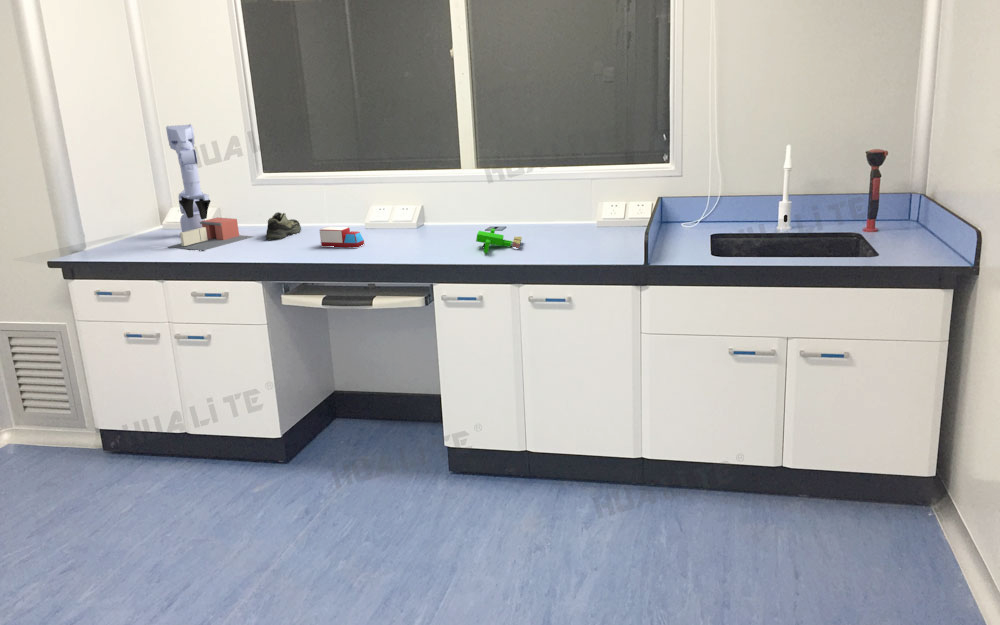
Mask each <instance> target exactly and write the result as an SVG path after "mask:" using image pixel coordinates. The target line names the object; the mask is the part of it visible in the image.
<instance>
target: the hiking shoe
mask: <svg viewBox="0 0 1000 625" xmlns="http://www.w3.org/2000/svg"><path fill="white" fill-rule="evenodd" d="M301 231H302V226H301V223H300V222H299V221H298V220H296V219H288V217H287V216H286V213H285V212H279V211H278V212H275V213H274V214H273V215H272V217H269V219H268V220H267V229H266V235H265V239H266V240H268V241H280V240H283V239H285V238H286V237H289V236H294V235H293V234H295V235H298V234H300V233H301ZM297 233H298V234H297ZM288 235H289V236H288Z"/></svg>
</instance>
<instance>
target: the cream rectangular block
mask: <svg viewBox="0 0 1000 625" xmlns="http://www.w3.org/2000/svg"><path fill="white" fill-rule="evenodd" d="M179 236H180V242H181V243H182V246H187V245H191V244H195V243H198V242H202V241H206V240H208V239H207V232H206V227H202V228H198V229H194V230H189V231H185V232H182V231H181V232H179Z"/></svg>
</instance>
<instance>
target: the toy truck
mask: <svg viewBox="0 0 1000 625" xmlns="http://www.w3.org/2000/svg"><path fill="white" fill-rule="evenodd" d="M319 237H320V247H321V246H334V247H359V246H361V245H363V244H364V245H365V241H364V238H363V235H362V233H361V231H351V230H350V227H349V226H348V227H347V226H346V227H343V226H340V227H339V226H326V227H324V228H321V229H319ZM361 247H362V246H361ZM359 248H360V247H359Z"/></svg>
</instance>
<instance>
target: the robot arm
mask: <svg viewBox="0 0 1000 625" xmlns="http://www.w3.org/2000/svg"><path fill="white" fill-rule="evenodd" d="M165 129H166V135H167V141H168V146H169V147H170V149H172V150H173V151H175V153H176V154H177V159H178V164H179V168H180V173H181V179H182V184H183V190H182V191H181V192H180V193H178V204H179V210H180V213H181V214H182V215H181V216H180V220H179V222H180V228H181V232H185V231H189V230H194V229H198V228H202V224H200V222H201V221H205V220H207V219H208V218H207V217H208V211H209V206H210V203H211V199H210V197H209V194H207V193H203V191H202V188H201V183H200V182H201V181H200V176H199V170H198V169H199V168H198V165H199V164H198V163H199V162H198V155H197V151H196V149H195V148H194V147H195V145H196V144H195V133H194V127H193V125H192V124H191V123H189V124H180V125H167V126H166V127H165Z"/></svg>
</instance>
